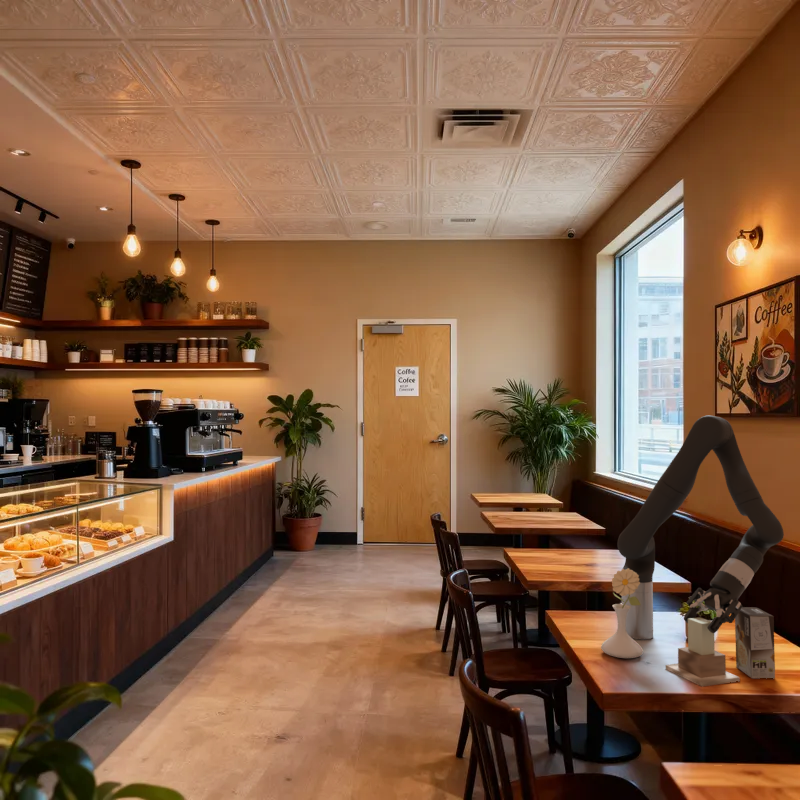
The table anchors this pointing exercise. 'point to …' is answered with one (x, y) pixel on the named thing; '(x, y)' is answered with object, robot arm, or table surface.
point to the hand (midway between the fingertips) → (698, 626)
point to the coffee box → (755, 643)
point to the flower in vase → (623, 617)
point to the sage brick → (700, 636)
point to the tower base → (703, 680)
